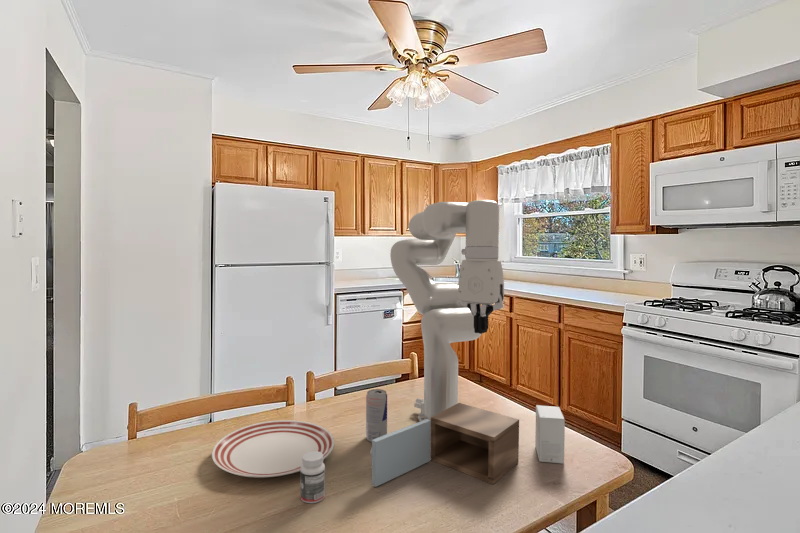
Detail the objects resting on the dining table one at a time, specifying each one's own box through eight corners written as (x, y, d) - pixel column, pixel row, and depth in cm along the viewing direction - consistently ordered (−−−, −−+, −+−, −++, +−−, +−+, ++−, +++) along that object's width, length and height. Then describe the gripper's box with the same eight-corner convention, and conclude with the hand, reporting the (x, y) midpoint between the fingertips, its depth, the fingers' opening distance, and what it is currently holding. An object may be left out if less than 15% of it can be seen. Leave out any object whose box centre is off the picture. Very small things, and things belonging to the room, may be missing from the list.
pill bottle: (302, 490, 88) (301, 450, 88) (325, 489, 88) (325, 449, 88) (298, 504, 83) (298, 462, 83) (323, 503, 84) (323, 461, 83)
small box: (564, 464, 99) (565, 419, 98) (538, 462, 100) (539, 417, 99) (558, 448, 107) (559, 406, 106) (534, 446, 108) (535, 404, 107)
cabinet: (430, 459, 101) (431, 417, 100) (458, 441, 110) (459, 402, 109) (493, 484, 90) (494, 437, 90) (518, 462, 100) (519, 419, 99)
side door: (422, 456, 101) (422, 417, 101) (430, 460, 100) (430, 420, 99) (367, 481, 91) (367, 437, 90) (375, 487, 89) (375, 441, 88)
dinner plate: (355, 443, 109) (355, 430, 109) (283, 502, 84) (282, 485, 84) (270, 424, 121) (269, 412, 120) (183, 471, 96) (183, 456, 96)
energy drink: (390, 435, 113) (390, 390, 113) (382, 444, 108) (382, 397, 108) (371, 432, 115) (371, 387, 114) (362, 441, 110) (362, 394, 109)
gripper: (445, 253, 103) (445, 330, 104) (504, 255, 94) (502, 339, 95) (462, 253, 109) (462, 326, 110) (519, 254, 99) (517, 334, 100)
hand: (480, 332), depth 102 cm, fingers closed
